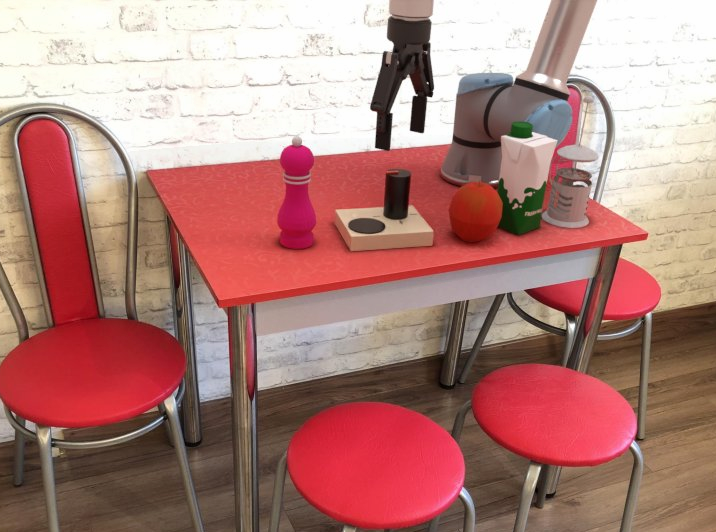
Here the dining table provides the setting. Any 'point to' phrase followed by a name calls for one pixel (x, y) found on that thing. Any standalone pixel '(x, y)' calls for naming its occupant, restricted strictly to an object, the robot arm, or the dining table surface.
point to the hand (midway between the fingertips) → (400, 140)
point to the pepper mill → (296, 197)
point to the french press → (571, 186)
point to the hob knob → (397, 194)
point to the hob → (394, 236)
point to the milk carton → (523, 177)
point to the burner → (366, 225)
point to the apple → (475, 211)
